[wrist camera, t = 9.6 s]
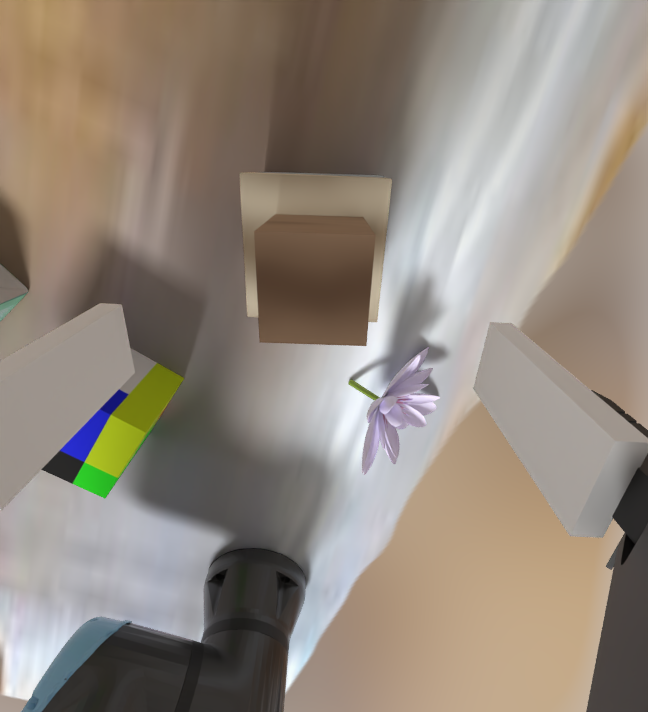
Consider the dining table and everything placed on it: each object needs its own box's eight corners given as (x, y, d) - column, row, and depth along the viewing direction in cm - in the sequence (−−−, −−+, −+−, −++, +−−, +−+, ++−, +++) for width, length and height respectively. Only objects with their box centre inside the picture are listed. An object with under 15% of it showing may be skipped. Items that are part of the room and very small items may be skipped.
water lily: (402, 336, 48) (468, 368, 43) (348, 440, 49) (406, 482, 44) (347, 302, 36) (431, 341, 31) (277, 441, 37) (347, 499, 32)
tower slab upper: (371, 301, 34) (377, 322, 29) (258, 297, 34) (247, 316, 29) (382, 177, 29) (392, 179, 25) (253, 172, 29) (239, 172, 25)
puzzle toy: (99, 330, 41) (34, 375, 32) (184, 377, 43) (146, 432, 34) (68, 394, 44) (2, 451, 35) (148, 435, 47) (105, 498, 38)
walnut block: (357, 301, 29) (366, 345, 21) (277, 298, 29) (259, 342, 21) (363, 216, 26) (375, 235, 19) (275, 214, 26) (254, 231, 19)
